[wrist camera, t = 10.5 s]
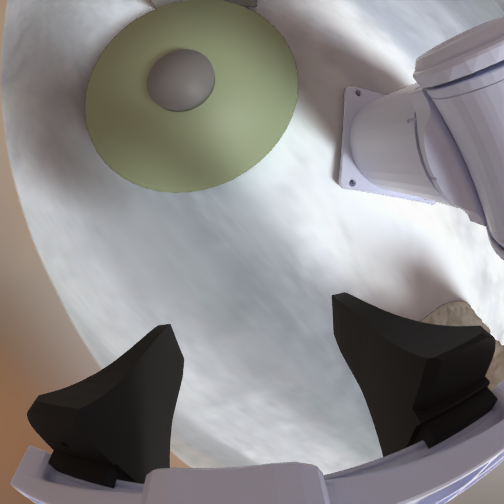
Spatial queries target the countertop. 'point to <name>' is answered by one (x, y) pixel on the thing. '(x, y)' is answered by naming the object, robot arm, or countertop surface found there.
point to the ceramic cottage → (464, 315)
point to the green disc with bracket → (191, 95)
